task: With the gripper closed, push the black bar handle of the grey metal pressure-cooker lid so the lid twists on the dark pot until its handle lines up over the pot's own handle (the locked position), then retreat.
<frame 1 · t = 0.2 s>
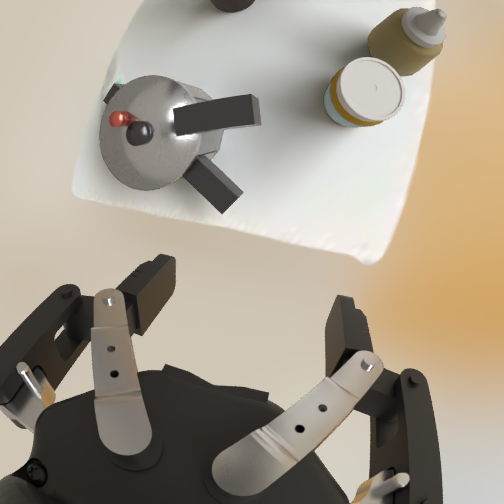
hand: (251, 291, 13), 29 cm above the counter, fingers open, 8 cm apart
pot: (179, 130, 38), on the counter
squeeze bottle: (388, 55, 27), on the counter
lid: (162, 127, 27), point 12 cm above the counter, hinge at 50.0°
bottle: (348, 103, 32), on the counter
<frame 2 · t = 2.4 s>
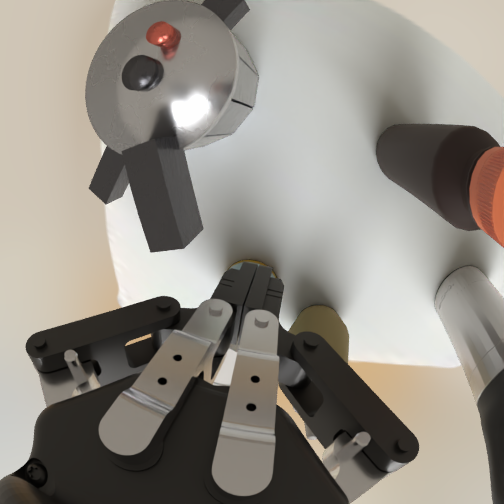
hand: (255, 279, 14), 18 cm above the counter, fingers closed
pot: (196, 87, 26), on the counter
squeeze bottle: (318, 320, 37), on the counter
lid: (147, 110, 18), point 12 cm above the counter, hinge at 50.0°
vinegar: (402, 153, 25), on the counter
bottle: (252, 280, 36), on the counter
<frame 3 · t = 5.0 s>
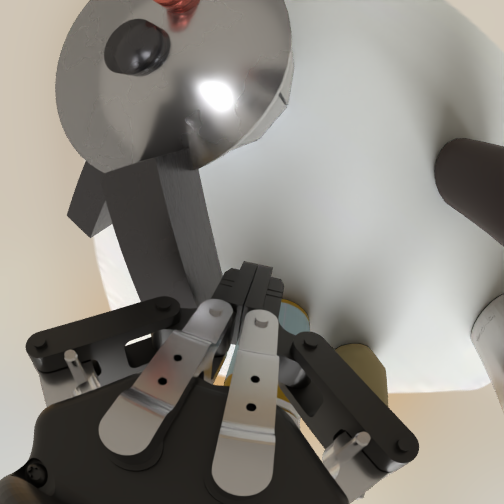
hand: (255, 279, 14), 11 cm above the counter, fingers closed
pot: (208, 76, 19), on the counter
squeeze bottle: (349, 357, 30), on the counter
lid: (141, 105, 11), point 12 cm above the counter, hinge at 48.0°, touching gripper
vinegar: (460, 173, 19), on the counter
bottle: (277, 319, 29), on the counter
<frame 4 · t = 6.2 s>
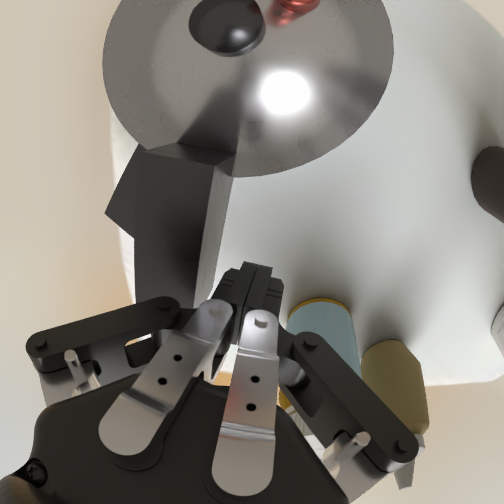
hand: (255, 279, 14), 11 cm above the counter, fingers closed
pot: (261, 68, 18), on the counter
squeeze bottle: (383, 353, 30), on the counter
lid: (209, 91, 10), point 11 cm above the counter, hinge at 25.7°, touching gripper
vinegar: (491, 178, 18), on the counter
bottle: (319, 319, 29), on the counter
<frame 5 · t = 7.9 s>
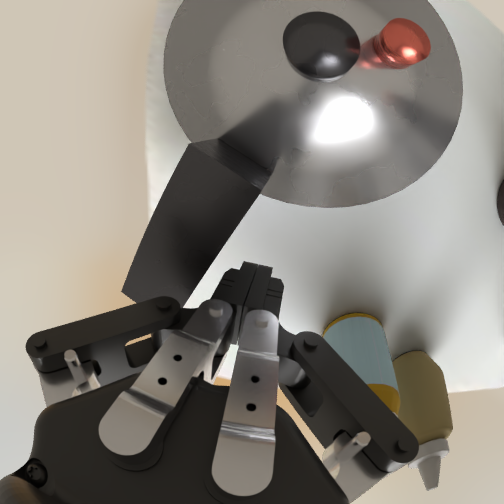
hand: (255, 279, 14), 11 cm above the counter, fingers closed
squeeze bottle: (407, 363, 29), on the counter
lid: (275, 105, 10), point 12 cm above the counter, hinge at 5.4°, touching gripper
bottle: (352, 332, 28), on the counter
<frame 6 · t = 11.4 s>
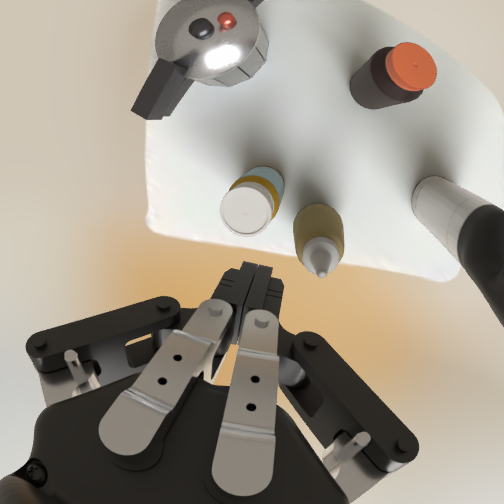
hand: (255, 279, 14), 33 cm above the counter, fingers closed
pot: (225, 49, 35), on the counter
squeeze bottle: (317, 220, 46), on the counter
lid: (186, 48, 27), point 11 cm above the counter, hinge at 5.1°
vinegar: (369, 89, 35), on the counter
bottle: (264, 185, 45), on the counter
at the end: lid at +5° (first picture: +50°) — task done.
